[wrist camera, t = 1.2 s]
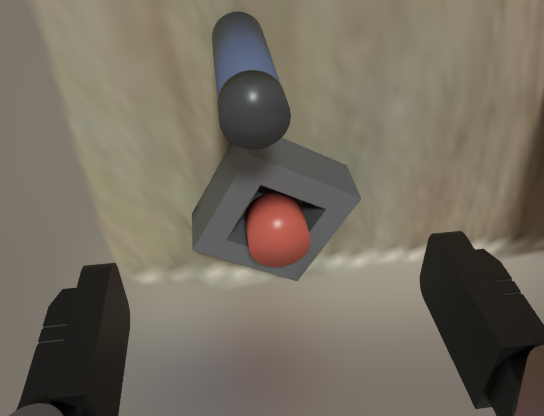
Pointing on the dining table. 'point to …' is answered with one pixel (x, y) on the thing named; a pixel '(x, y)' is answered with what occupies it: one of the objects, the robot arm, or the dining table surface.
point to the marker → (247, 84)
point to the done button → (276, 230)
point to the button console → (264, 179)
